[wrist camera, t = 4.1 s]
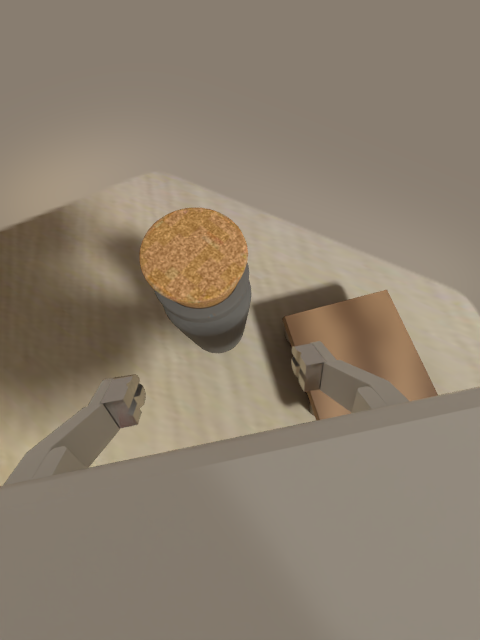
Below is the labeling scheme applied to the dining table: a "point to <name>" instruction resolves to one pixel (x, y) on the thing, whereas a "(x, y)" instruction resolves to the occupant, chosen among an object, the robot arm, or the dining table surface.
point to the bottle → (200, 275)
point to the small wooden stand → (362, 346)
